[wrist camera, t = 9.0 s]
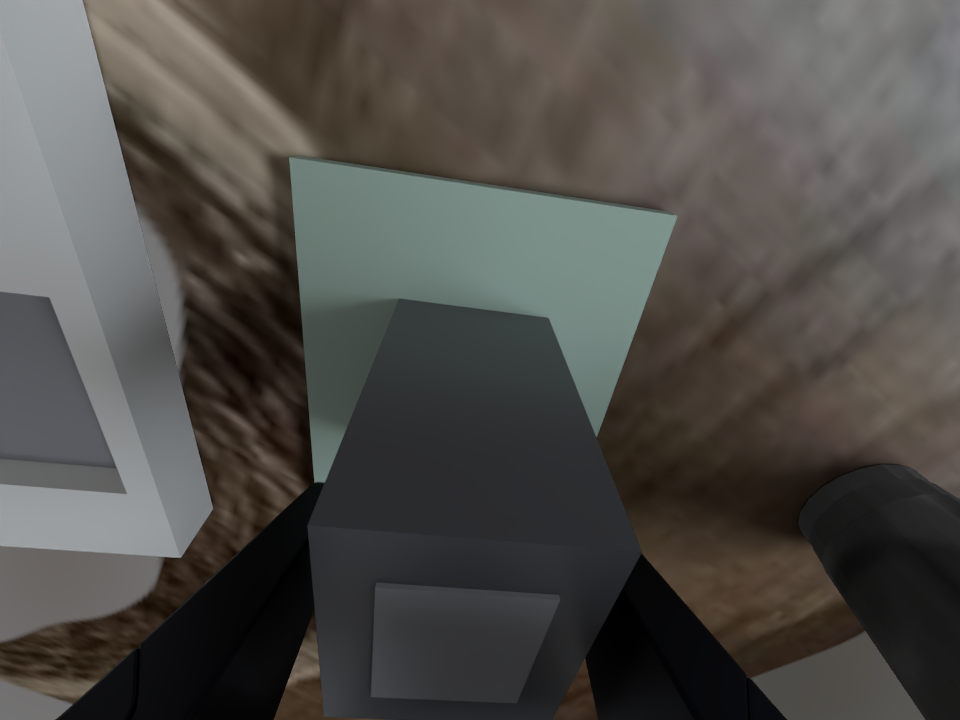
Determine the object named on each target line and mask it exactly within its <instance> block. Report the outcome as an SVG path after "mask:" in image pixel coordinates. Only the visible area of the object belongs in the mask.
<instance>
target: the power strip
mask: <svg viewBox="0 0 960 720" xmlns="http://www.w3.org/2000/svg"><path fill="white" fill-rule="evenodd" d="M212 510H213V506H212V502H211V498H210V494H209V490H208V486H207V483H206V479H205V475H204V471H203V467H202V463H201V459H200V455H199V451H198V448H197V444H196V440H195V436H194V432H193V428H192V424H191V420H190V416H189V413H188V409H187V405H186V401H185V397H184V393H183V389H182V385H181V381H180V378H179V374H178V370H177V366H176V362H175V358H174V354H173V350H172V347H171V343H170V339H169V335H168V331H167V327H166V323H165V319H164V315H163V311H162V308H161V304H160V300H159V296H158V292H157V288H156V284H155V281H154V276H153V273H152V269H151V265H150V261H149V257H148V253H147V249H146V245H145V241H144V238H143V234H142V230H141V226H140V222H139V218H138V214H137V210H136V206H135V203H134V199H133V195H132V191H131V187H130V183H129V179H128V175H127V171H126V168H125V164H124V160H123V156H122V152H121V148H120V144H119V140H118V136H117V133H116V129H115V125H114V121H113V117H112V113H111V109H110V105H109V101H108V98H107V94H106V90H105V86H104V82H103V78H102V74H101V70H100V66H99V63H98V59H97V55H96V51H95V47H94V43H93V39H92V35H91V31H90V28H89V24H88V20H87V16H86V12H85V8H84V4H83V0H0V546H10V547H25V548H41V549H55V550H70V551H85V552H86V551H87V552H99V553H114V554H130V555H145V556H159V557H174V558H181V557H182V555H183V554H184V552H185V551H186V549H187V548H188V546H189V545H190V543H191V542H192V540H193V539H194V537H195V536H196V534H197V533H198V531H199V530H200V528H201V527H202V525H203V524H204V522H205V521H206V519H207V518H208V516H209V515H210V513H211V512H212Z"/></svg>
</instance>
